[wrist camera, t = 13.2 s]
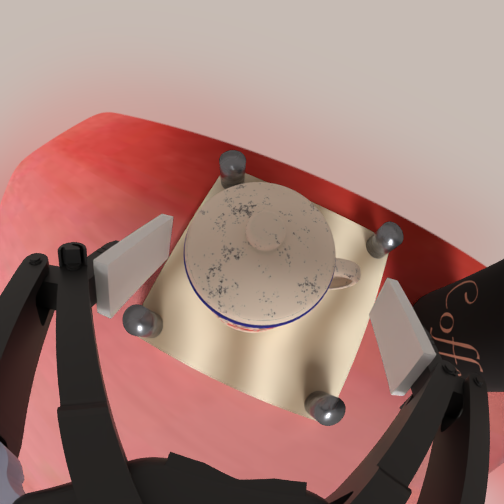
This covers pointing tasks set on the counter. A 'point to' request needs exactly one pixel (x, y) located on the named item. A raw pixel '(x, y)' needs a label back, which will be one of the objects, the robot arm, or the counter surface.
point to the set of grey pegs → (378, 245)
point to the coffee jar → (469, 324)
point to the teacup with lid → (262, 257)
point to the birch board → (278, 339)
